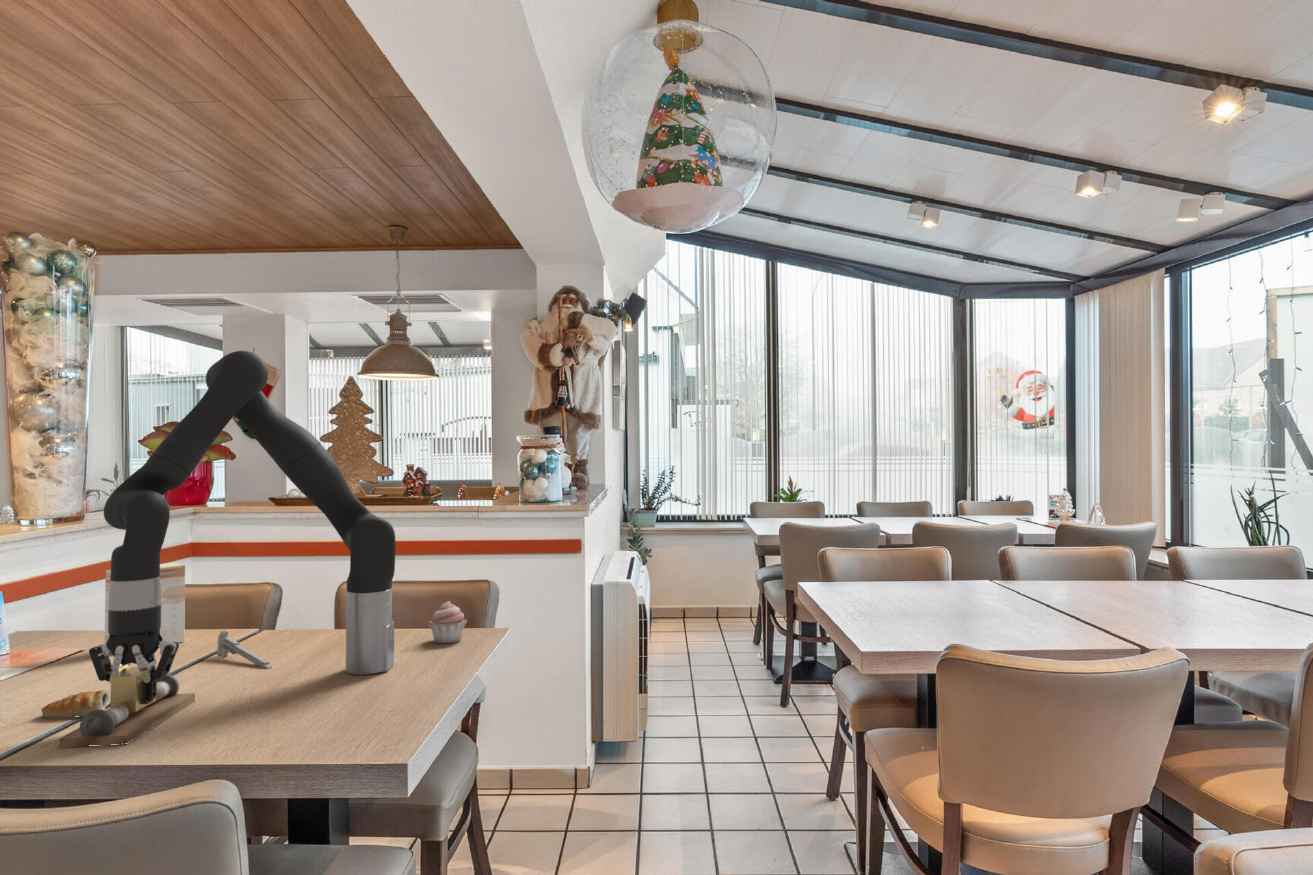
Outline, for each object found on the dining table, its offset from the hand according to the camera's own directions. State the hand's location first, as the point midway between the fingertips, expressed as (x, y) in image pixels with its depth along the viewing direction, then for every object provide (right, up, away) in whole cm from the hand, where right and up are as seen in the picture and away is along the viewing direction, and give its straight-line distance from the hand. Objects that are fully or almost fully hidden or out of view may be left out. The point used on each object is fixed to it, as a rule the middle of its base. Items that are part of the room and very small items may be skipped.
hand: (133, 702), depth 126 cm
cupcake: (+39, -5, +56) cm, 68 cm away
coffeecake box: (-34, -5, +51) cm, 62 cm away
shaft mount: (0, -3, 0) cm, 3 cm away
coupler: (0, -1, 0) cm, 1 cm away
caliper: (-2, -5, +38) cm, 38 cm away
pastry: (-13, -4, +5) cm, 15 cm away
